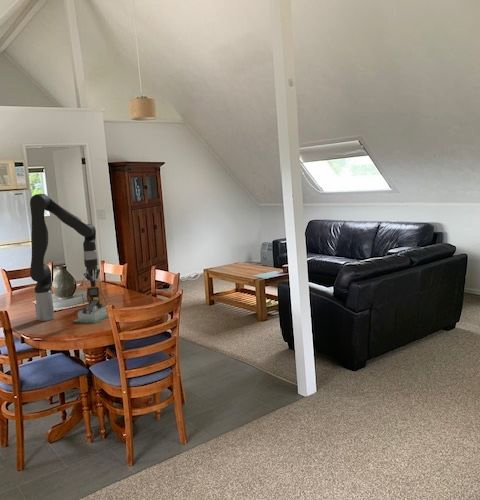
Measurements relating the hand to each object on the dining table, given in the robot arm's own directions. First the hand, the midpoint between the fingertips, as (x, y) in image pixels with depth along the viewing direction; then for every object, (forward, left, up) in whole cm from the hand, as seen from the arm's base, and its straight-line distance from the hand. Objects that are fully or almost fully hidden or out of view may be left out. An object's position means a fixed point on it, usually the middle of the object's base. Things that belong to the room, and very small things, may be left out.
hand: (93, 286), depth 295 cm
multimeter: (-15, +18, -19) cm, 30 cm away
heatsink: (0, -2, -19) cm, 19 cm away
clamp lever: (0, -3, -11) cm, 12 cm away
